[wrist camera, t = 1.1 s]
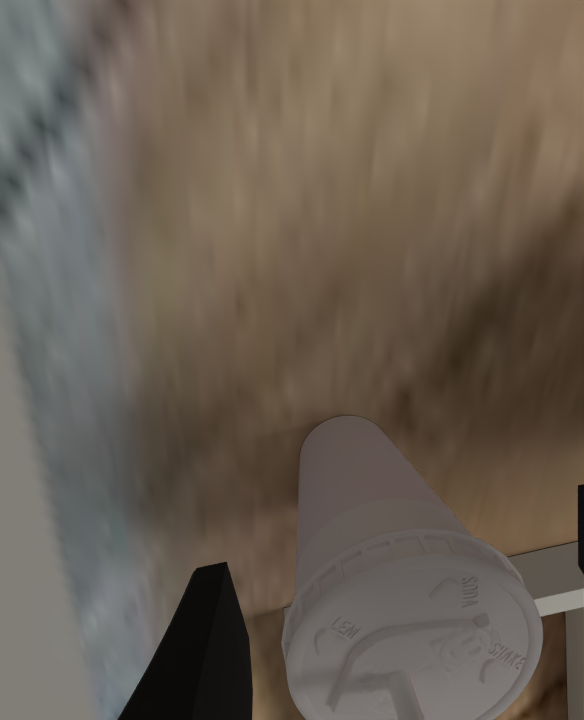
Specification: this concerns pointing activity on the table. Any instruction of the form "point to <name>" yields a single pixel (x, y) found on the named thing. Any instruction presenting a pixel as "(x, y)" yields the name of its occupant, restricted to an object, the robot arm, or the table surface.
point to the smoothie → (397, 594)
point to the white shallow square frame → (558, 607)
